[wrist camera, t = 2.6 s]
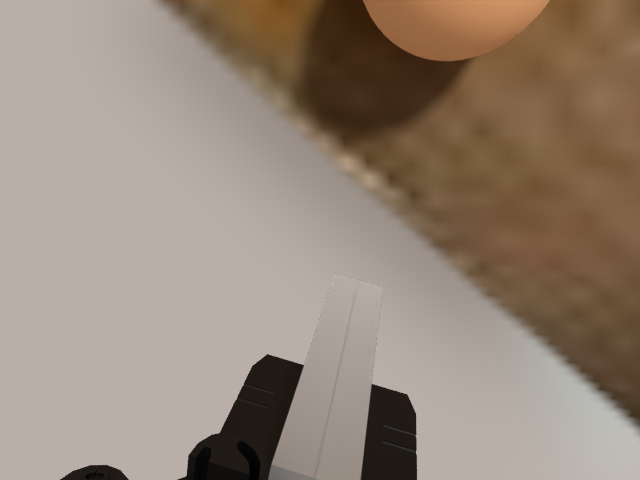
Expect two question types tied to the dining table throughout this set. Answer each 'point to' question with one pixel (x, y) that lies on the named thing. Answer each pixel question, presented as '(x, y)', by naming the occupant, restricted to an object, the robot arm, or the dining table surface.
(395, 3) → the ball
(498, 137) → the dining table surface
